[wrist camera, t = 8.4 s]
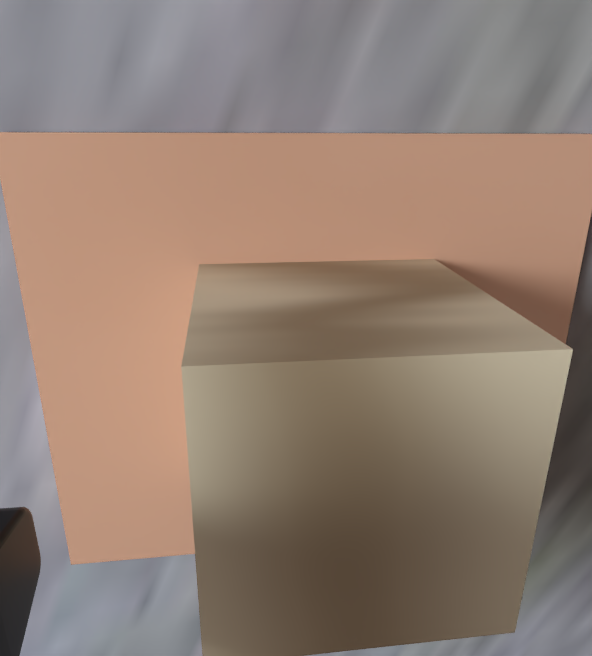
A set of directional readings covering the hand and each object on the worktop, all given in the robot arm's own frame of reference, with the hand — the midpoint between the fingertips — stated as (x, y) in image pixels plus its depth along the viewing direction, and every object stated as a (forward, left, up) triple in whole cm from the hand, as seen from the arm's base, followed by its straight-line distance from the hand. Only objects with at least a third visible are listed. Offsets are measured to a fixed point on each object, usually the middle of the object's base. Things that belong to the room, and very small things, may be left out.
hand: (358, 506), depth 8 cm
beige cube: (0, 0, -5) cm, 5 cm away
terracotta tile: (0, 0, -5) cm, 5 cm away
